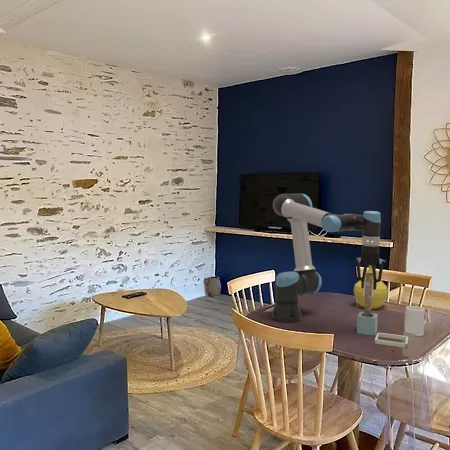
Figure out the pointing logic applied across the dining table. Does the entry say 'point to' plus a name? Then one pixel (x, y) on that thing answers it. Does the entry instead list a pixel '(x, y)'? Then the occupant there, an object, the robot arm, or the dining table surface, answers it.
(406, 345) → the pale green rectangular frame
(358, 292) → the vase
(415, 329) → the mug
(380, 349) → the dining table surface
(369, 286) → the dowel
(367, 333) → the teal socket block
